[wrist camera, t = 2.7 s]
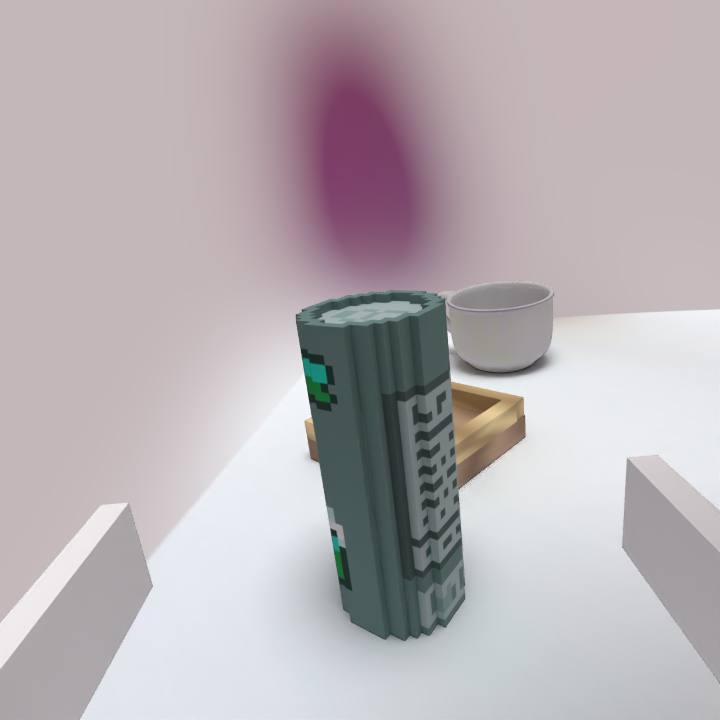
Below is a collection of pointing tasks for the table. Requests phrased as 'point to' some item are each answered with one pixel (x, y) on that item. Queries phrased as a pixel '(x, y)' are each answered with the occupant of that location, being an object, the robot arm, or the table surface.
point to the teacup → (501, 324)
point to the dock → (473, 428)
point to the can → (387, 456)
